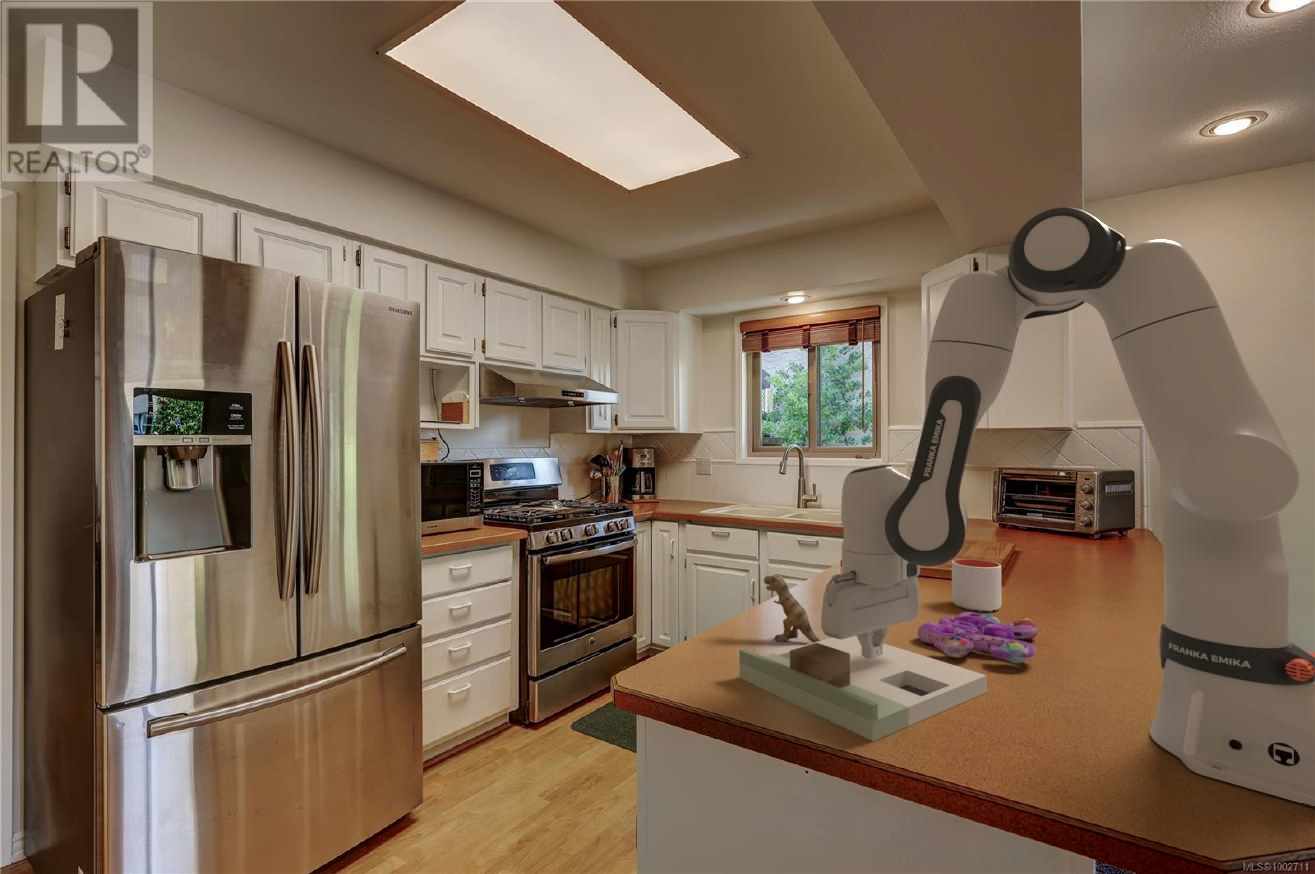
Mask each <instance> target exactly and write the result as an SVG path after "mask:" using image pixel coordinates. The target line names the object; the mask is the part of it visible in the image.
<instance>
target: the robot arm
mask: <svg viewBox="0 0 1315 874" xmlns="http://www.w3.org/2000/svg"><path fill="white" fill-rule="evenodd" d="M1008 251H1009V252H1008V264H1006V265H1004V266H1003V267H1001V268H999V269H994V270H993V271H992V270H977V271H972V272H968V273H964V274H963V275H961V276H959V277H958V278H956V279H955V280H954V281H953V282H952V283H951V284H950V286H949V288H948V290H947V293H946V295H945V297H944V299H943V301H942V304H941V307H940V309H939V312H938V314H937V317H936V319H935V324H934V327H933V330H932V335H931V338H930V342H929V346H928V352H927V357H926V365H925V380H924V383H925V385H924V386H925V387H924V388H925V389H924V391H925V392H924V398H925V399H924V401H925V402H924V404H925V405H924V406H925V407H924V420H923V422H924V423H923V425H922V429H921V434H920V439H919V441H918V446H917V450H916V454H915V459H914V462H913V466H912V471H911V474H910V476H909V475H907V474H905V473H903V472H901V471H900V470H898V469H897V468H896V467H895V466H893V465H891V464H879V465H878V464H877V465H873V466H868V467H860V468H857V469H854V470H852V471H850V472H849V473H848V474H847V475H846V476H845V478H844V480H843V484H842V491H841V505H840V506H841V507H840V508H841V509H840V512H841V513H840V517H841V519H840V520H841V525H842V529H843V539H842V544H841V574H840V573H838V574H834V575H832V576H831V578H830V579H829V581H828V582H827V584H826V586H825V590H824V591H823V592H824V593H823V598H822V606H821V618H820V622H821V623H820V627H821V630H822V633H823V634H824V635H825V636H828V637H830V638H836V639H840V640H842V639H846V638H849V637H853V636H857V638H858V640H859V642H860V644H861V645H862V656H863V657H865V658H868V659H871V658H874V657H877V656H880V655H882V654H883V643H884V644H885V640H886V638H887V636H888V627H891V626H894V625H897V624H902V623H905V622H908V621H912V620H914V619H917V615H918V613H919V610H920V584H919V580H918V578H917V577H919V576H920V574H921V567H937V566H940V565H941V566H942V565H943V564H947V563H948V562H949V561H952V560H953V559H954V558H955V557H956V556H957V555H958V554H959V553H960V552H961V550H962V548H963V546H964V543H965V539H966V530H967V527H968V522H969V520H968V512H967V509H966V507H965V505H964V503H963V502H962V500H961V499H960V492H961V485H962V481H963V477H964V473H965V469H966V464H967V460H968V456H969V452H970V447H971V444H972V439H973V437H974V433H975V432H976V429H977V427H978V426H979V424H980V421H981V420H982V418H983V416H984V415H985V414H986V412H987V411H988V410H989V409H990V407H992V405H993V404H994V402H995V401H996V399H997V397H998V395H1000V394H999V393H1000V391H1001V390H1002V388H1003V385H1004V382H1005V380H1006V378H1007V375H1008V373H1009V369H1010V366H1011V363H1012V359H1013V355H1014V349H1015V347H1016V340H1017V337H1018V333H1019V329H1020V327H1021V324H1022V323H1023V321H1024V320H1030V319H1036V318H1041V317H1045V316H1053V315H1061V314H1064V313H1067V312H1070V311H1073V310H1075V309H1077V308H1079V307H1080V306H1082V305H1084V304H1085V303H1086V304H1088V305H1090V306H1091V307H1093V308H1094V309H1095V310H1096V311H1097V312H1098V313H1099V315H1100V317H1101V319H1102V320H1103V322H1104V324H1105V327H1106V331H1107V333H1108V336H1109V339H1110V342H1111V345H1112V347H1113V350H1114V352H1115V354H1116V357H1117V360H1118V363H1119V365H1120V369H1121V371H1122V374H1123V376H1124V379H1125V382H1126V384H1127V387H1128V389H1129V392H1130V395H1131V398H1132V401H1133V403H1134V404H1135V407H1136V410H1137V411H1138V415H1139V417H1140V420H1141V421H1142V424H1143V426H1144V429H1145V432H1146V434H1147V437H1148V439H1149V441H1150V443H1151V446H1152V449H1153V451H1154V454H1155V456H1156V458H1157V462H1158V464H1159V490H1160V491H1159V493H1160V512H1161V513H1160V514H1161V518H1160V519H1161V533H1162V534H1161V535H1162V536H1161V537H1162V553H1163V576H1164V577H1163V581H1164V583H1163V585H1164V586H1163V588H1164V589H1163V590H1164V591H1163V592H1164V595H1163V596H1164V623H1162V624H1161V625H1160V632H1159V640H1158V641H1159V646H1158V647H1159V648H1158V649H1159V658H1160V666H1161V668H1162V670H1163V672H1162V673H1163V674H1162V682H1161V688H1160V695H1159V698H1158V699H1159V700H1158V705H1157V710H1156V712H1155V716H1154V719H1153V722H1152V724H1151V726H1150V729H1149V735H1150V737H1151V739H1152V740H1153V741H1154V742H1155V743H1156V744H1157V745H1159V746H1160V747H1162V749H1165V750H1166V751H1167V752H1169V753H1171V754H1172V755H1174V756H1176V757H1177V758H1179V759H1180V760H1181V762H1182V763H1183V764H1184V765H1185V766H1186V767H1187V768H1188V769H1189V770H1191V771H1192V772H1194V773H1196V774H1198V775H1201V776H1203V777H1204V776H1205V777H1208V778H1211V779H1215V780H1219V781H1222V782H1225V783H1229V784H1233V785H1237V786H1240V787H1243V788H1246V789H1250V790H1252V791H1253V790H1254V791H1258V792H1261V793H1264V794H1267V795H1272V796H1275V797H1278V798H1282V799H1285V800H1289V801H1292V802H1295V803H1299V804H1302V803H1306V804H1309V805H1311V806H1310V807H1313V806H1315V651H1310V652H1309V653H1308V652H1307V651H1305V650H1304V649H1302V648H1301V647H1299V646H1298V645H1296V644H1294V643H1293V642H1291V637H1290V636H1291V633H1290V628H1291V627H1290V589H1289V588H1290V587H1289V586H1290V582H1289V581H1290V579H1289V578H1290V576H1289V572H1288V567H1287V563H1286V558H1285V554H1284V553H1285V552H1284V545H1283V540H1282V533H1281V527H1280V525H1281V524H1280V518H1279V513H1280V512H1281V511H1283V510H1284V509H1285V508H1286V507H1287V506H1288V505H1289V504H1290V503H1292V500H1293V499H1294V497H1295V496H1296V494H1297V491H1298V489H1299V483H1300V473H1299V472H1300V471H1299V469H1298V466H1297V462H1296V461H1295V459H1294V456H1293V455H1292V452H1291V450H1290V448H1289V447H1288V445H1287V442H1286V439H1284V436H1283V435H1282V433H1281V430H1280V428H1279V427H1278V424H1277V422H1276V421H1275V418H1274V417H1273V415H1272V413H1271V411H1270V410H1269V408H1268V406H1267V404H1266V402H1265V400H1264V398H1263V397H1262V395H1261V393H1260V391H1259V390H1258V388H1257V386H1256V385H1255V383H1254V381H1253V380H1252V378H1251V376H1250V374H1249V373H1248V370H1247V369H1246V366H1245V364H1244V362H1243V360H1242V357H1241V354H1240V352H1239V350H1238V347H1237V345H1236V342H1235V340H1234V338H1233V335H1232V333H1231V331H1230V328H1229V326H1228V323H1227V320H1226V319H1225V316H1224V314H1223V311H1222V309H1221V307H1220V304H1219V301H1218V299H1217V298H1216V294H1214V291H1213V290H1212V287H1211V286H1210V284H1209V282H1208V280H1207V278H1206V276H1205V275H1204V273H1203V272H1202V270H1201V268H1200V267H1199V265H1198V264H1197V262H1196V261H1195V260H1194V259H1193V257H1192V256H1191V255H1190V254H1189V252H1188V251H1187V249H1186V248H1185V247H1184V246H1183V245H1182V244H1180V243H1178V242H1176V241H1173V240H1170V239H1153V240H1150V239H1149V240H1144V241H1141V242H1137V243H1134V244H1131V245H1127V240H1126V237H1125V236H1124V235H1123V234H1121V233H1120V232H1118V231H1117V230H1115V229H1113V228H1111V227H1110V226H1108V225H1106V224H1105V223H1104V222H1102V221H1101V220H1099V219H1098V218H1097V217H1095V216H1093V215H1092V214H1090V213H1088V212H1087V211H1085V210H1082V209H1079V208H1075V207H1069V206H1067V207H1066V206H1064V207H1063V206H1062V207H1061V206H1060V207H1055V208H1051V209H1048V210H1045V211H1042V212H1040V213H1038V214H1037V215H1036V214H1035V216H1033V217H1031V218H1030V219H1029V220H1028V221H1026V223H1024V224H1023V225H1022V226H1021V228H1020V229H1019V230H1018V231H1017V233H1016V234H1015V236H1014V237H1013V239H1012V242H1011V244H1010V246H1009V250H1008ZM1306 804H1305V805H1306ZM1309 805H1308V806H1309ZM1312 805H1313V806H1312Z"/></svg>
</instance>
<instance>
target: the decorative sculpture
mask: <svg viewBox="0 0 1315 874" xmlns="http://www.w3.org/2000/svg"><path fill="white" fill-rule="evenodd" d="M916 633H917V636H918V639H919V641H921V642H922V643H924V642H925V644H927V643H928V644H929V645H934V647H936V648H937V649H939V650H940V651H942V652H943V653H944V654H945V655H947V656H948V657H950V658H954V659H962V658H964V657H965V656H967V655H968V654H969V653H970V652H972V651H978V652H989V653H990V654H991V655H992V656H993V657H995V658H998V659H1002V660H1003V659H1004V660H1005V661H1008V662H1010V663H1013V664H1021V663H1024V661H1026V660H1027V659H1028V658H1031V657H1034V656H1035V655H1036V653H1037V648H1036V647H1035V645H1033V644H1032V643H1030V642H1026V641H1028V640H1032V639H1034V638H1036V636H1037V634H1038V627H1037V624H1036V623H1035V622H1034V621H1033V620H1032V619H1030V618H1028V617H1019V618H1017V619H1015V620H1014V621H1013V623H1007V624H1003V623H1002V622H1001V621H1000V619H998V617H996V616H994V615H993V614H989V613H988V614H983V613H978V612H976V611H963V612H961V613H959V614H957V615H956V616H955V617H954V618H951V617H948V616H942V617H940V618H939V620H938V623H937V622H930V621H929V622H924V623H923V624H921V625H919V627H918V629H917V631H916ZM1025 639H1026V641H1024V640H1025Z"/></svg>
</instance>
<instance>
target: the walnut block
mask: <svg viewBox="0 0 1315 874" xmlns="http://www.w3.org/2000/svg"><path fill="white" fill-rule="evenodd" d="M809 644H810V645H807V644H806V645H807V646H804V647H800V648H797V649H794V650H790V668H792V669H794V670H797V671H799V672H802V673H804V674H807V675H809V676H811V677H814V678H816V679H819V680H821V681H824V682H826V683H828V684H831V685H833V686H836V687H838V688H843V687H845V686H848V685H850V653H847V652H844V651H841V650H838V649H835V648H831V647H828V646H825V645H822V644H819V643H814V644H811V643H809Z"/></svg>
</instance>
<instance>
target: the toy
mask: <svg viewBox="0 0 1315 874" xmlns="http://www.w3.org/2000/svg"><path fill="white" fill-rule="evenodd" d="M763 583H764V584H765V585H767V586H765V588H766V589H765V590H767V591H772V592H776V594H777V597H778V601H777V600H773V603H775V604H777V605H781V607H782V610H783V612H784V615H785V616H786V618H784V619H783V621H782V623H783V633H781V634H776V635H775V636H774V638H775V641H776V642H788V641H789V640H790V639H789V638H790V637H791V636H793V638H797V637H799V631H800V632H801V633H802V634H803V635H804V637H806V638H807V639H808V640H809V642H810V641H811V643H814V642H818V641H822V640H821V639H819V638H818V637H817V636H816V634H815V632H814V630H813V628H812V627H811V624H810V621H809V616H808V614H807V613H808V612H807V611H806V610H805V608H804V607H803V606H802V605H801V604H800V602H799V601H798V600H797V599H796V598H795V597H794V595H793V594H792V593H791V592H790V589H789V586H788V584H787V582H786V580H785V579H784V577H783V576H782V575H780V574H778V573H776V574H774V575H766V576H765V577H764V578H763ZM788 636H790V637H788ZM776 638H777V639H776Z"/></svg>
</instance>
